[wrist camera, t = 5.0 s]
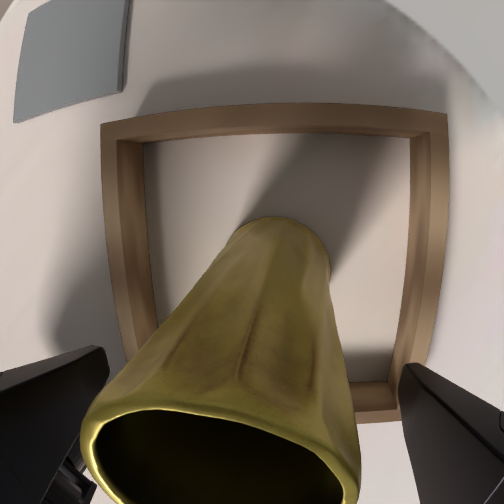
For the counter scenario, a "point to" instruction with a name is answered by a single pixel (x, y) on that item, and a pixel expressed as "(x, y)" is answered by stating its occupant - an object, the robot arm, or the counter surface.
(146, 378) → the vase
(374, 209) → the counter surface
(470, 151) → the counter surface
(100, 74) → the slate mat
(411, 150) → the wooden frame
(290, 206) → the counter surface
